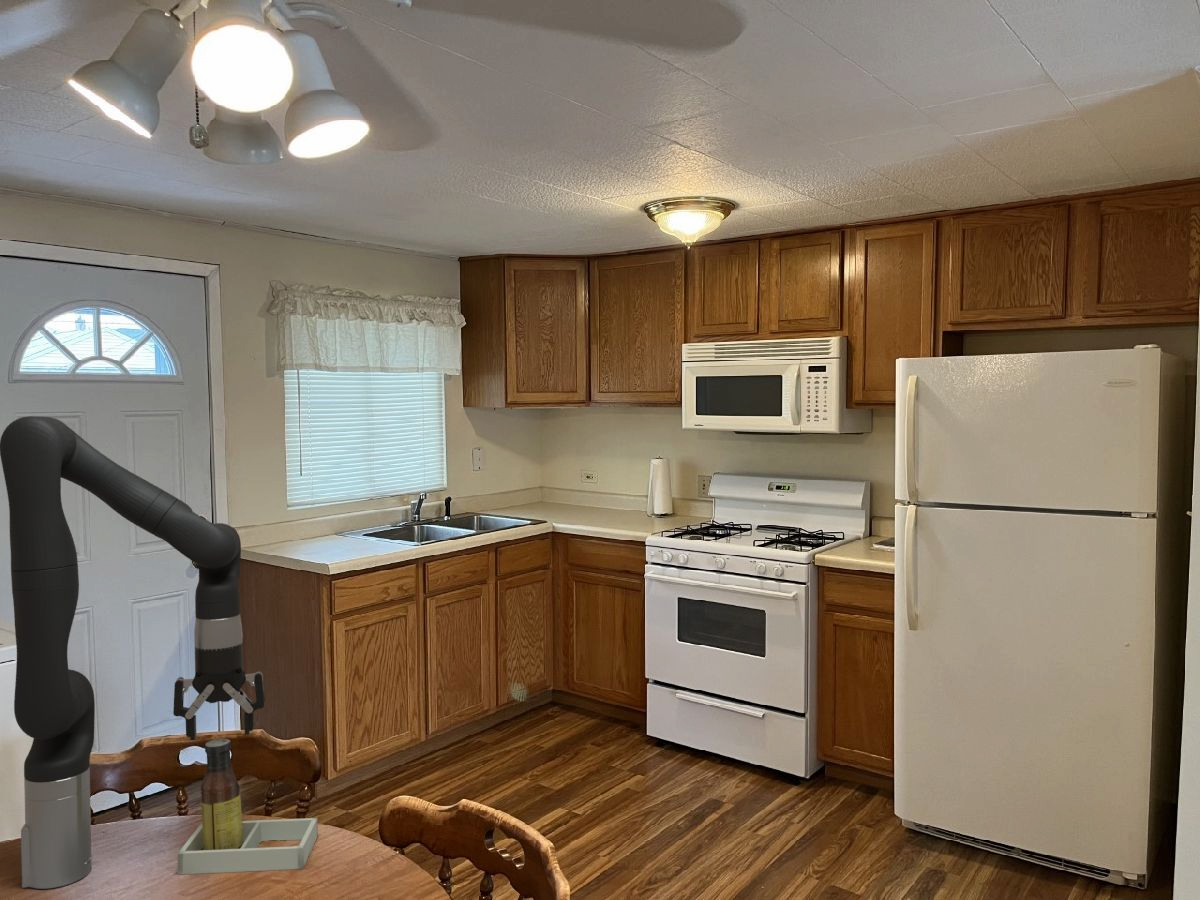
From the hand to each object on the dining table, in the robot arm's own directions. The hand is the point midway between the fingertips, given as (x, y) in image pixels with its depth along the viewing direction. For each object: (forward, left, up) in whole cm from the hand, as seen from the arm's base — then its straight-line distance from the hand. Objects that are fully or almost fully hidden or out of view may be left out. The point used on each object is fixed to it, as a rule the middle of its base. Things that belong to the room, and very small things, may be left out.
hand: (220, 736), depth 155 cm
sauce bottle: (0, 0, -21) cm, 21 cm away
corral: (+5, -1, -21) cm, 21 cm away
